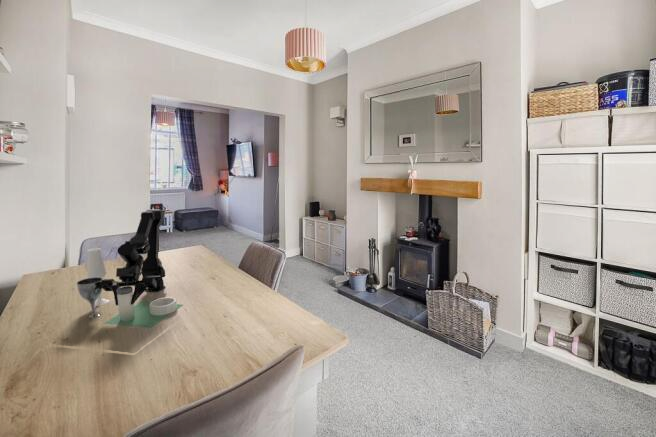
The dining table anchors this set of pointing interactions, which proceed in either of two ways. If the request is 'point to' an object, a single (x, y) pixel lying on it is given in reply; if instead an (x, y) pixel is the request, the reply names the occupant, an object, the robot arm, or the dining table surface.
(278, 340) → the dining table surface
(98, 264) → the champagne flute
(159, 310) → the putting green
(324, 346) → the dining table surface
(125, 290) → the golf ball tube
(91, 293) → the wine glass
